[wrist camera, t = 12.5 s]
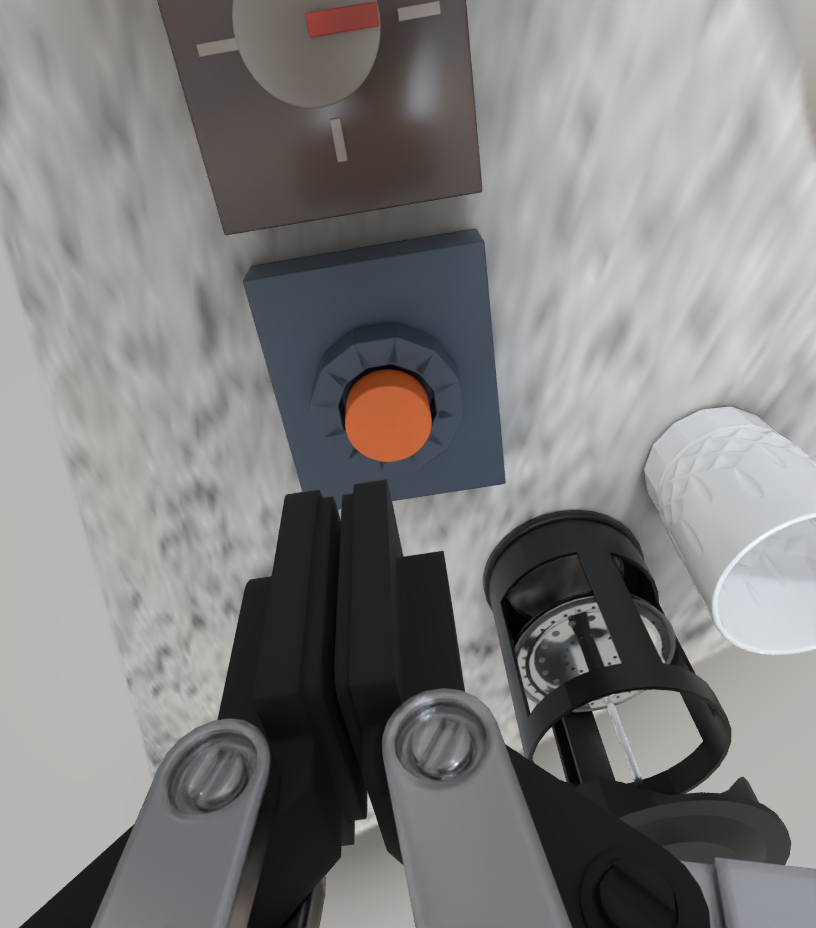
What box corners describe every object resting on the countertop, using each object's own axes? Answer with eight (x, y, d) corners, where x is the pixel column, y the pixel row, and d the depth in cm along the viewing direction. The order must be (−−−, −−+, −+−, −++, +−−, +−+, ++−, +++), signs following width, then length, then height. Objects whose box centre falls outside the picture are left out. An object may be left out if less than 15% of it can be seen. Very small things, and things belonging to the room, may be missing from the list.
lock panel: (134, -157, 22) (102, -185, 20) (435, -215, 22) (445, -251, 19) (237, 219, 29) (223, 236, 26) (472, 178, 28) (483, 193, 26)
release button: (338, 375, 29) (337, 393, 27) (422, 362, 29) (425, 379, 27) (354, 448, 31) (354, 468, 29) (433, 435, 30) (437, 455, 29)
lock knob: (273, 105, 24) (251, 120, 19) (243, -35, 22) (210, -55, 17) (386, 87, 24) (390, 97, 19) (367, -55, 22) (366, -82, 17)
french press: (495, 497, 37) (640, 1011, 17) (662, 501, 37) (984, 998, 18) (471, 650, 43) (558, 1156, 23) (615, 650, 44) (817, 1142, 24)
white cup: (626, 527, 38) (699, 664, 30) (639, 402, 34) (728, 521, 26) (765, 512, 38) (878, 646, 30) (794, 387, 34) (936, 500, 26)
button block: (250, 265, 30) (234, 294, 26) (477, 228, 29) (491, 252, 26) (311, 490, 36) (305, 536, 33) (498, 461, 36) (512, 505, 32)
